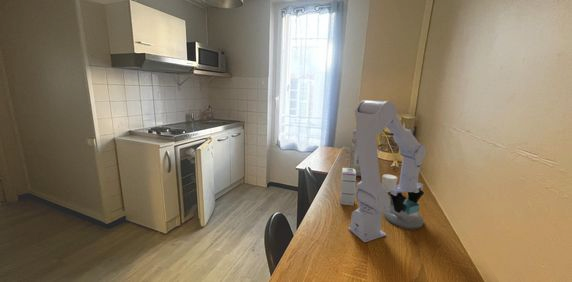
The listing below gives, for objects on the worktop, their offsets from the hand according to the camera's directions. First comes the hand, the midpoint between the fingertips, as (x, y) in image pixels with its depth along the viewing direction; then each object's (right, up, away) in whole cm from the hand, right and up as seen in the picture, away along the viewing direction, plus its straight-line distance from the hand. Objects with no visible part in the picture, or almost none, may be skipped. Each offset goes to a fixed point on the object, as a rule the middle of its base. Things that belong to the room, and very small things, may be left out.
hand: (404, 209), depth 84 cm
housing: (0, -2, +1) cm, 2 cm away
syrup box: (-18, -1, +13) cm, 22 cm away
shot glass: (+6, +1, +26) cm, 27 cm away
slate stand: (0, -4, +1) cm, 4 cm away
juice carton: (-3, +6, +47) cm, 47 cm away
